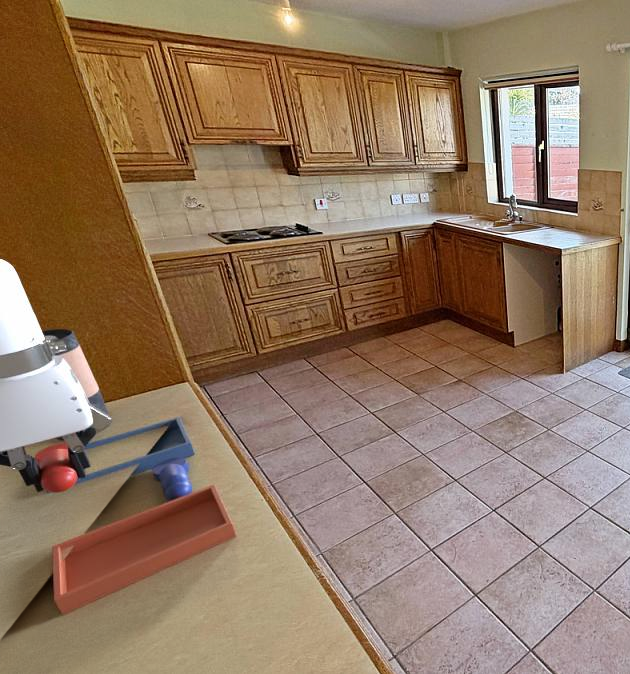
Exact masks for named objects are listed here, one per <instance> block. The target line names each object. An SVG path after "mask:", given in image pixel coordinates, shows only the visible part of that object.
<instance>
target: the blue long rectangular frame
mask: <svg viewBox="0 0 630 674" xmlns="http://www.w3.org/2000/svg"><path fill="white" fill-rule="evenodd" d="M167 426H168V427H167ZM163 427H167V428H166V430H164V431H163V433H162V434H161V435H160V436H159V438H158V439H157V440H156V442H155V444H154V445H153V446H152V447H151V448H150V450H148V452H147V453H146V455H144V456H141V457H137V458H133V459H130V460H128V461H125V462H122V463H118V464H116V465H111V466H109V467H106V468H103V469H100V470H97V471H94V472H91V473H86V477H85V478H82V479H81V478H78V477H77V481H76V483H75V484H74V485H73V486H75V485H78V484H81V483H85V482H88V481H90V480H93V479H97V478H99V477H102V476H105V475H109V474H111V473H115V472H117V471H120V470H123V469H127V468H130V467H132V466H135V465H137V466H136V467H135V468H134V470H133V471H132V472H131V473H130V475H129V476H130V477H132V476H135V475H138V474H140V473H141V474H142V473H144V472H147V471H149V470H152V469H153V468H154V467H155V466H156V465H157V464H159V463H161V462H163V461H165V460H168V459H171V458H184V459H186V458H187V457H190V456H191V457H192V456H194V455H196V453H195V450H194V448H193V447H194V446H193V444H192V442H191V439H190V437H189V435H188V432H187V431H186V428H185V426H184V424H183V422H182V420H181V418H180V416H177V417H174V418H171V419H167V420H164V421H160V422H157V423H153V424H150V425H147V426H144V427H140V428H137V429H133V430H130V431H126V432H123V433H120V434H116V435H112V436H109V437H106V438H102V439H98V440H95V441H92V442H89V443H88V444H87V445H86V446H85V449H84V450H85V451H86V450H90V449H93V448H96V447H99V446H103V445H106V444H109V443H113V442H116V441H119V440H123V439H126V438H130V437H133V436H136V435H140V434H143V433H147V432H150V431H154V430H157V429H160V428H163ZM46 493H47V494H52V492H48V491H46Z"/></svg>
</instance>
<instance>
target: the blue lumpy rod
mask: <svg viewBox="0 0 630 674" xmlns="http://www.w3.org/2000/svg"><path fill="white" fill-rule="evenodd" d="M189 470H190V466H189V464H188V460H187V459H186V458H171V459H168V460H165V461H163V462H161V463H159V464H157V465H156V466H155V467H154V468H153V469H151V473H152V476H153V478H154V481H156V482H157V483H158V482H159V483H160V485H161V488H162V491H163V494H164V497H165V499H166V500H168V502H169V501H172V500H175V499H177V498H180V497H182V496H185V495H188V494H190V493H193V486H192V484H191V481H190V479H189V476H188V474H187V473H188V472H189Z"/></svg>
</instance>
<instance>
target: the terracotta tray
mask: <svg viewBox="0 0 630 674" xmlns="http://www.w3.org/2000/svg"><path fill="white" fill-rule="evenodd" d="M236 537H237V533H236V530H235V527H234V524H233V522H232V520H231V518H230V516H229V513H228V510H227V509H226V507H225V504H224V502H223V500H222V498H221V496H220V493H219V492H218V489H217V487H216V485H215V484H211V485H209V486H206V487H203V488H200V489H198V490H196V491H192V493H190V494H188V495H185V496H182V497H180V498H177V499H175V500H172V501H169V500H168V501H167V502H164V503H162V504H159V505H157V506H154V507H151V508H149V509H145V510H143V511H141V512H139V513H136V514H132V515H130V516H128V517H125V518H123V519H120V520H117V521H115V522H112V523H110V524H106V525H104V526H102V527H98V528H97V529H94V530H91V531H88V532H86V533H83V534H81V535H78V536H76V537H73V538H70V539H68V540H67V539H66V540H65V541H63V542H59V543H57V544H54V545H52V547H51V548H52V572H53V573H52V577H53V601H54V604H55V605H56V607H57V608H58V611H59V612H60V613H61V615H62V616H64V615H67V614H69V613H71V612H73V611H75V610H77V609H80V608H82V607H84V606H87V605H88V604H90V603H93V602H95V601H97V600H99V599H101V598H104V597H106V596H108V595H110V594H113V593H115V592H117V591H119V590H121V589H124V588H126V587H128V586H130V585H132V584H134V583H137V582H140V581H141V580H144V579H146V578H147V577H150V576H152V575H154V574H156V573H160V572H161V571H163V570H165V569H168V568H170V567H172V566H174V565H176V564H179V563H181V562H183V561H185V560H187V559H189V558H192V557H194V556H196V555H198V554H201V553H203V552H205V551H207V550H209V549H212V548H214V547H216V546H218V545H220V544H222V543H225V542H227V541H229V540H231V539H233V538H236ZM68 548H71V550H70V551H69V552H68V553H67V555H66V556H65V557H64V558H63V557H62V556H63V555H62V551H63V550H66V549H68ZM62 559H63V560H62Z"/></svg>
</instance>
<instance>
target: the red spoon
mask: <svg viewBox="0 0 630 674" xmlns="http://www.w3.org/2000/svg"><path fill="white" fill-rule="evenodd" d="M34 457H35V459H36V461H37V463H38V465H39V467H40V469H41V486H42V488H43V489H44V490H43V491H45V492H47V491H48V492H51V494H53V493H54V494H57V493H64V492H66V491H68V490H70V489H72V487H74V486H75V485H76V484H75V483H76V481H77V478H78V477H77V473H76V471H75V470H74V468H73V466H72V464H71V461H70V459H69V457H68V445H67V443H66V442H65V441H64V442H60V443H55V444H52V445H49V446H47V447H44V448H43V449H40V450H39V451H38V452H37V453H36V454H34ZM74 484H75V485H74Z"/></svg>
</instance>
